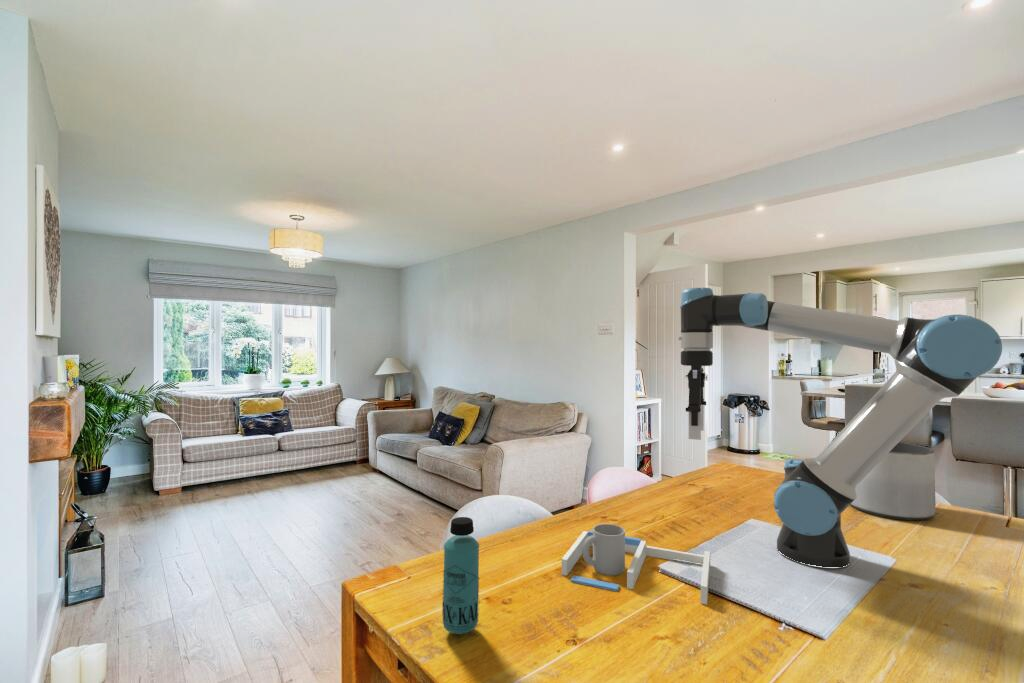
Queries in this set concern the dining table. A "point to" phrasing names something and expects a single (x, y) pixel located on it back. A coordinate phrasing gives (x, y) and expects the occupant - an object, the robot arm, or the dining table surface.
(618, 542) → the cup
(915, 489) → the planter
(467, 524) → the beverage bottle
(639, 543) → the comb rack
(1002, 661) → the dining table surface
